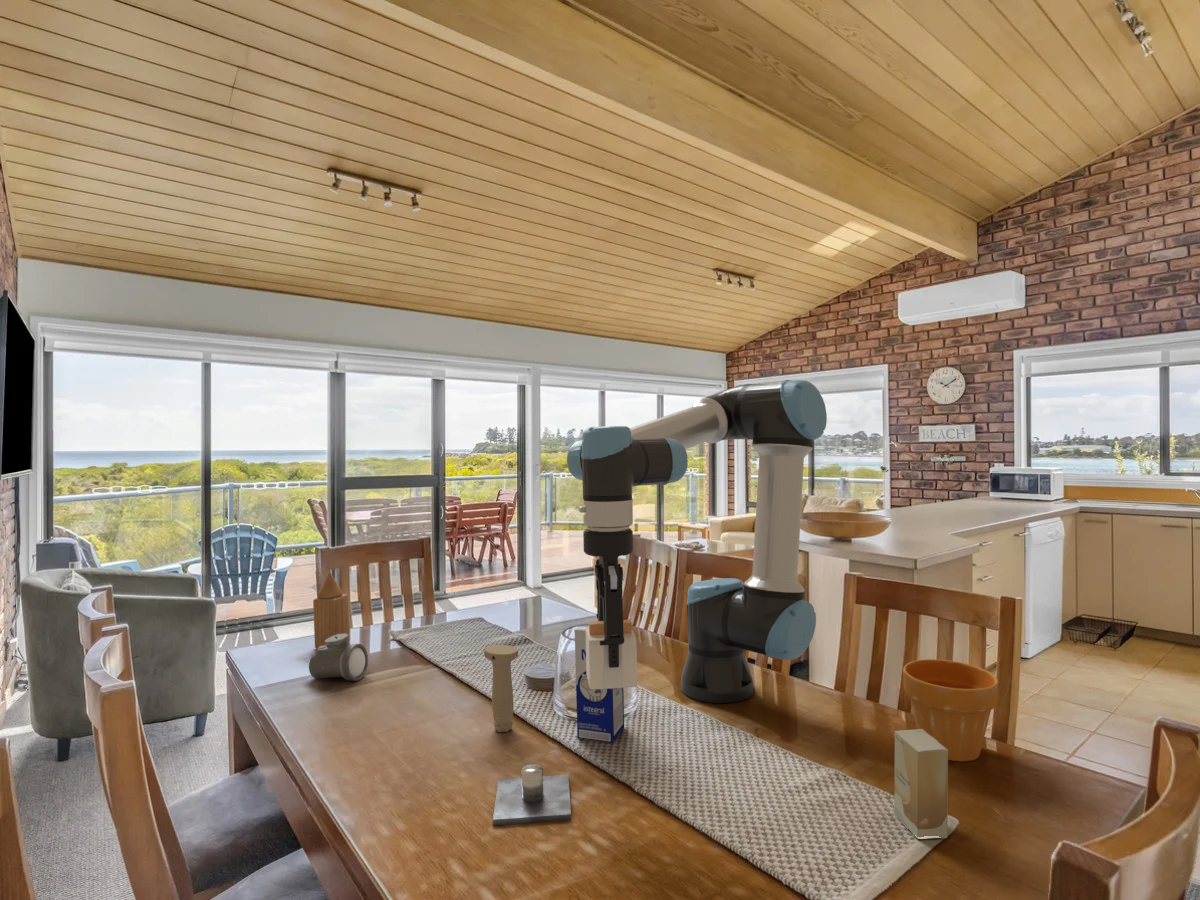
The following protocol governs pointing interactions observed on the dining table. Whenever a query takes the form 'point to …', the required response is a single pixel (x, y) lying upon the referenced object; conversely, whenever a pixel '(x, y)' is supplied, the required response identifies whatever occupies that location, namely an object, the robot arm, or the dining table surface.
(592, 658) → the white block with peg
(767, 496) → the robot arm
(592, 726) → the milk carton
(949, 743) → the flower pot
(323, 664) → the pipe fitting
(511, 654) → the handle
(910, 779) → the skincare box
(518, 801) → the post base
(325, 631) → the decorative item
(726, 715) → the dining table surface
